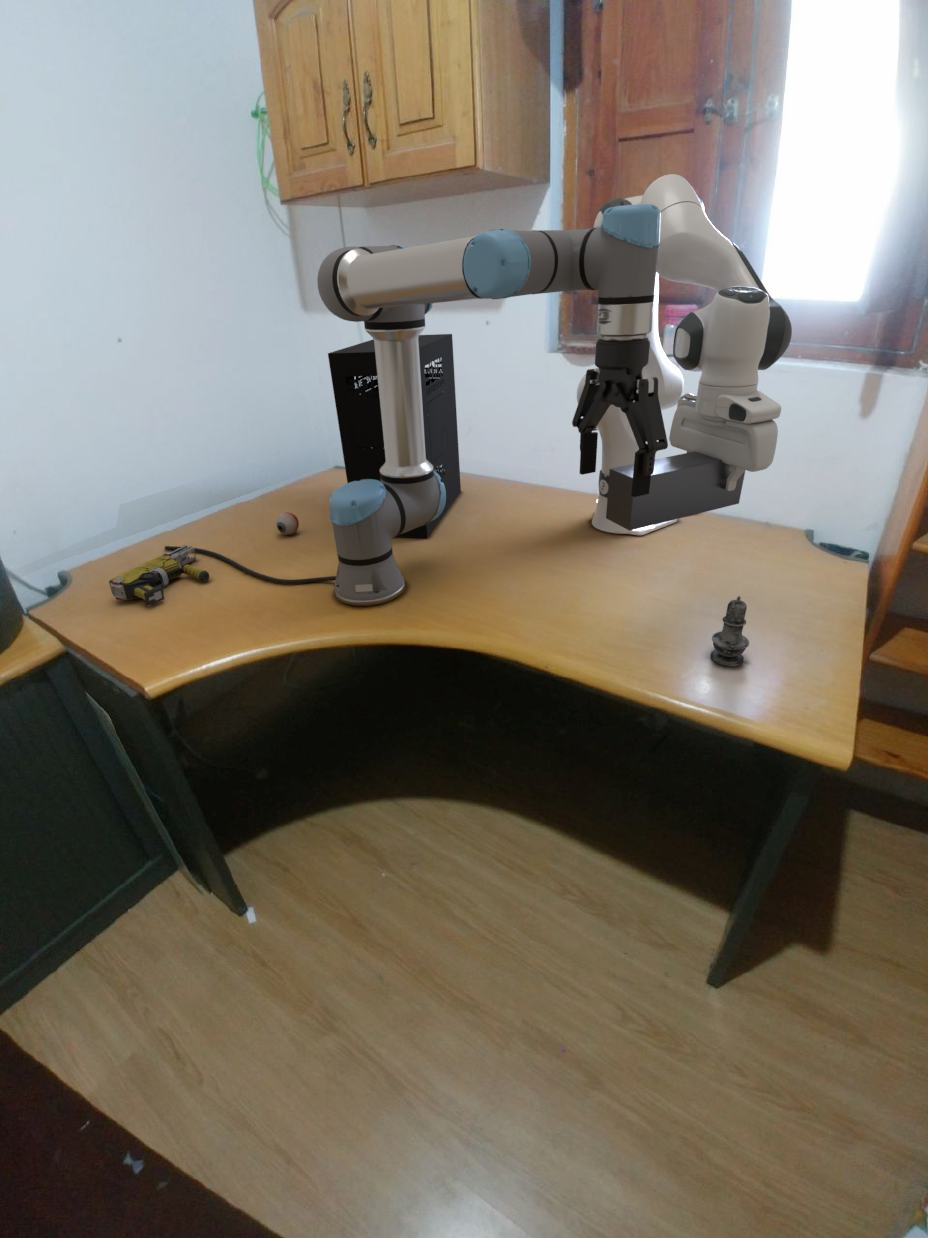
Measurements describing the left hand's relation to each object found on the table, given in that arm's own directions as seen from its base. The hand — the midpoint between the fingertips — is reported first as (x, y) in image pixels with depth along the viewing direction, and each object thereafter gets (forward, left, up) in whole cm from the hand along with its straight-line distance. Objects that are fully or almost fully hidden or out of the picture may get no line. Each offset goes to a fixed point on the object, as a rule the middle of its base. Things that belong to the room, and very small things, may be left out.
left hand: (612, 483), depth 96 cm
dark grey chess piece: (+21, +1, -30) cm, 37 cm away
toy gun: (-98, -7, -30) cm, 103 cm away
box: (+9, +10, -7) cm, 16 cm away
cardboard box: (-66, +52, -30) cm, 89 cm away
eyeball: (-91, +27, -30) cm, 99 cm away
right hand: (+14, +16, -4) cm, 22 cm away
